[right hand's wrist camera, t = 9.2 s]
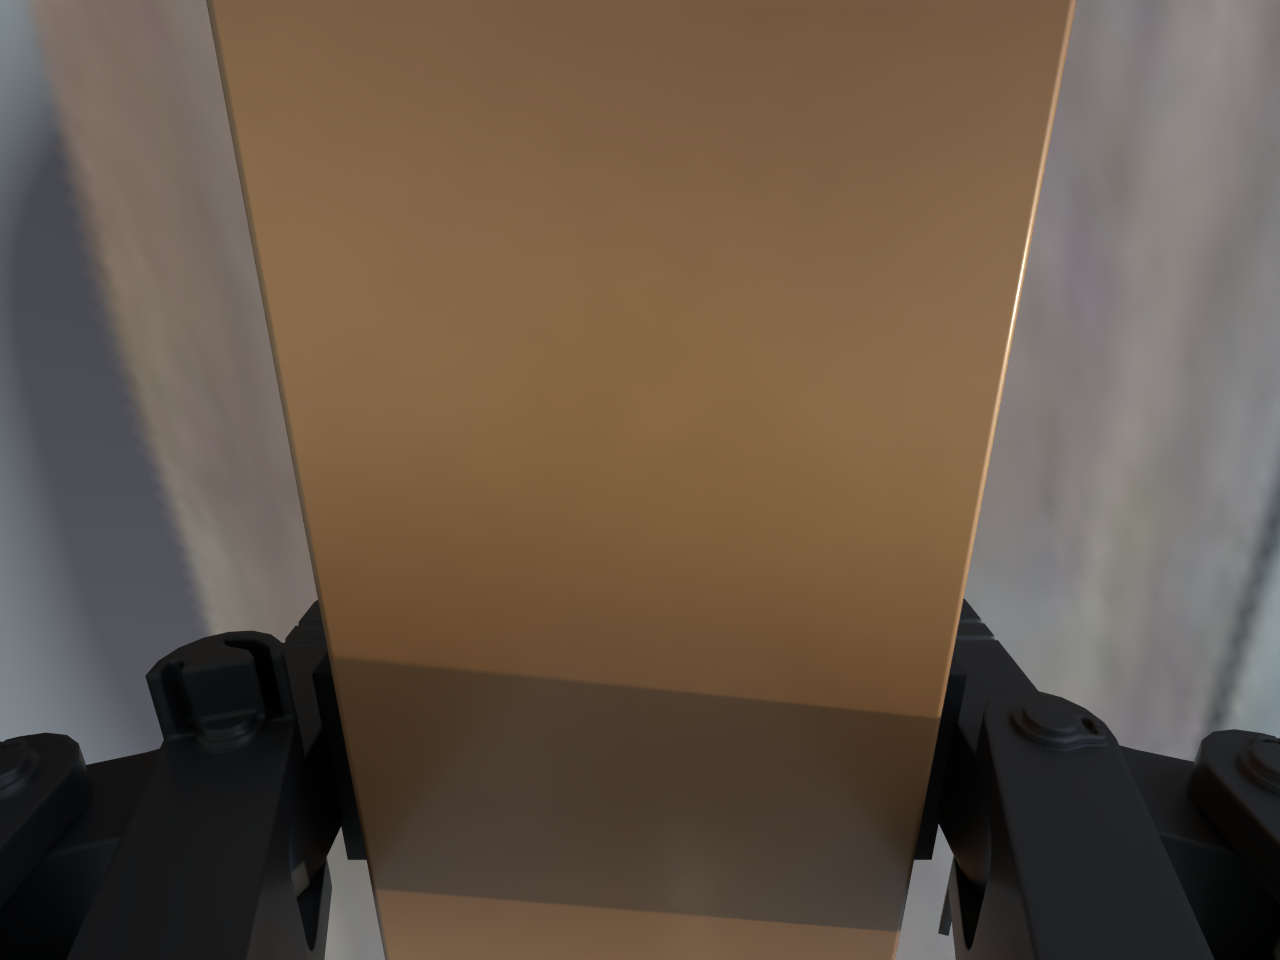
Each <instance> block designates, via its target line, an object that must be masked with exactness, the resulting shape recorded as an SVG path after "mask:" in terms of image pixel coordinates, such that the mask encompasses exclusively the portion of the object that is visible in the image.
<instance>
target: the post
mask: <svg viewBox="0 0 1280 960" xmlns="http://www.w3.org/2000/svg"><path fill="white" fill-rule="evenodd" d="M206 1H207V6H208V12H209V17H210V22H211V28H212V33H213V38H214V44H215V49H216V54H217V60H218V65H219V71H220V76H221V81H222V87H223V92H224V97H225V103H226V108H227V113H228V119H229V124H230V130H231V135H232V140H233V146H234V151H235V156H236V162H237V167H238V172H239V178H240V183H241V188H242V194H243V199H244V205H245V210H246V215H247V221H248V226H249V231H250V237H251V242H252V247H253V253H254V258H255V264H256V269H257V274H258V280H259V285H260V290H261V296H262V301H263V306H264V312H265V317H266V322H267V328H268V333H269V339H270V344H271V349H272V355H273V360H274V365H275V371H276V376H277V381H278V387H279V392H280V397H281V403H282V408H283V414H284V419H285V424H286V430H287V435H288V440H289V446H290V451H291V456H292V462H293V467H294V473H295V478H296V483H297V489H298V494H299V499H300V505H301V510H302V515H303V521H304V526H305V531H306V537H307V542H308V548H309V553H310V558H311V564H312V569H313V574H314V580H315V585H316V590H317V596H318V601H319V606H320V612H321V617H322V623H323V628H324V633H325V639H326V644H327V649H328V655H329V660H330V665H331V671H332V676H333V682H334V687H335V692H336V698H337V703H338V708H339V714H340V719H341V724H342V730H343V735H344V740H345V746H346V751H347V757H348V762H349V767H350V773H351V778H352V783H353V789H354V794H355V799H356V805H357V810H358V816H359V821H360V826H361V832H362V837H363V842H364V848H365V853H366V858H367V864H368V869H369V874H370V880H371V885H372V891H373V896H374V901H375V907H376V912H377V917H378V923H379V928H380V933H381V939H382V944H383V949H384V955H385V960H895V957H896V952H897V947H898V941H899V936H900V931H901V925H902V920H903V915H904V910H905V904H906V899H907V894H908V888H909V883H910V878H911V873H912V867H913V862H914V857H915V851H916V846H917V841H918V836H919V830H920V825H921V820H922V814H923V809H924V804H925V799H926V793H927V788H928V783H929V777H930V772H931V767H932V762H933V756H934V751H935V746H936V740H937V735H938V730H939V725H940V719H941V714H942V709H943V704H944V698H945V693H946V688H947V682H948V677H949V672H950V667H951V661H952V656H953V651H954V645H955V640H956V635H957V630H958V624H959V619H960V614H961V608H962V603H963V598H964V593H965V587H966V582H967V577H968V571H969V566H970V561H971V556H972V550H973V545H974V540H975V534H976V529H977V524H978V519H979V513H980V508H981V503H982V497H983V492H984V487H985V482H986V476H987V471H988V466H989V460H990V455H991V450H992V445H993V439H994V434H995V429H996V423H997V418H998V413H999V408H1000V402H1001V397H1002V392H1003V386H1004V381H1005V376H1006V371H1007V365H1008V360H1009V355H1010V349H1011V344H1012V339H1013V334H1014V328H1015V323H1016V318H1017V312H1018V307H1019V302H1020V297H1021V291H1022V286H1023V281H1024V275H1025V270H1026V265H1027V260H1028V254H1029V249H1030V244H1031V238H1032V233H1033V228H1034V223H1035V217H1036V212H1037V207H1038V201H1039V196H1040V191H1041V186H1042V180H1043V175H1044V170H1045V164H1046V159H1047V154H1048V149H1049V143H1050V138H1051V133H1052V127H1053V122H1054V117H1055V112H1056V106H1057V101H1058V96H1059V90H1060V85H1061V80H1062V75H1063V69H1064V64H1065V59H1066V53H1067V48H1068V43H1069V38H1070V32H1071V27H1072V22H1073V16H1074V11H1075V6H1076V1H1077V0H206Z"/></svg>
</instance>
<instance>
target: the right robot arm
mask: <svg viewBox="0 0 1280 960" xmlns="http://www.w3.org/2000/svg"><path fill="white" fill-rule="evenodd" d="M146 680H147V683H148V686H149V690H150V693H151V697H152V700H153V703H154V707H155V710H156V714H157V717H158V720H159V724H160V727H161V731H162V734H163V738H164V741H163V743H162V745H161V748H160V749H157V750H153V751H150V752H146V753H141V754H137V755H132V756H127V757H122V758H118V759H113V760H108V761H103V762H99V763H94V764H89V765H86V764H85V761H84V758H83V755H82V752H81V750H80V747H79V744H78V743H77V742H76V741H74V740H73V739H72V738H70V737H69V736H67V735H61V734H53V733H41V734H34V735H27V736H20V737H16V738H12V739H8V740H5V741H4V742H0V960H324V957H325V948H326V939H327V929H328V920H329V911H330V902H331V892H332V884H331V878H330V871H329V867H328V862H327V855H328V853H329V851H330V849H331V846H332V844H333V842H334V840H335V838H336V836H337V834H338V831H339V829H340V827H342V832H343V837H344V842H345V847H346V852H347V858H348V860H367V858H366V853H365V848H364V842H363V837H362V832H361V826H360V821H359V816H358V810H357V805H356V799H355V794H354V789H353V783H352V778H351V773H350V767H349V762H348V757H347V751H346V746H345V740H344V735H343V730H342V724H341V719H340V714H339V708H338V703H337V698H336V692H335V687H334V682H333V676H332V671H331V665H330V660H329V655H328V649H327V644H326V639H325V633H324V628H323V623H322V617H321V612H320V606H319V601H318V600H317V601H315V602H314V603H313V605H312V606H311V607H310V608H309V610H308V611H307V612H306V613H305V615H304V616H303V617H302V618H301V620H300V621H299V625H298V626H295V627H294V629H293V630H292V631H291V632H290V634H289V635H288V636H287V637H286V641H285V643H282V642H280V641H279V640H278V639H276V638H275V637H274V636H272V635H271V634H266V633H261V632H256V631H238V632H227V633H222V634H218V635H214V636H209V637H205V638H202V639H199V640H197V641H195V642H192V643H190V644H187V645H185V646H182V647H180V648H178V649H176V650H175V651H173V652H172V653H170V654H169V655H167V656H165V657H164V658H162V659H161V660H159V661H158V662H157V663H156V664H155V665H154V667H153V668H152V669H151V670H150V671H149V672H148V673H147V675H146ZM938 824H939V825H940V827H941V829H942V831H943V833H944V835H945V837H946V840H947V842H948V844H949V846H950V848H951V850H952V852H953V854H954V857H953V862H952V867H951V871H950V876H949V881H948V886H947V891H946V895H945V900H944V905H943V910H942V915H941V920H940V926H939V934H943V935H947V936H948V935H949V931H950V926H951V921H952V927H953V937H954V946H955V955H956V960H1280V738H1279V739H1278V738H1276V737H1275V736H1271V735H1267V734H1263V733H1256V732H1249V731H1242V730H1235V729H1233V730H1224V731H1216V732H1212V733H1211V734H1210V735H1208V736H1207V737H1206V738H1204V739H1203V740H1202V742H1201V744H1200V747H1199V750H1198V753H1197V756H1196V759H1195V762H1192V761H1187V760H1182V759H1178V758H1173V757H1168V756H1163V755H1159V754H1154V753H1149V752H1144V751H1139V750H1135V749H1131V748H1127V747H1124V746H1120V745H1119V744H1118V742H1117V739H1116V738H1115V736H1114V735H1113V734H1112V732H1111V731H1110V730H1109V728H1108V727H1107V726H1106V724H1105V723H1104V722H1103V721H1101V720H1100V719H1099V718H1097V717H1096V716H1095V715H1093V714H1092V713H1091V712H1089V711H1088V710H1087V709H1085V708H1083V707H1081V706H1079V705H1077V704H1075V703H1073V702H1070V701H1068V700H1066V699H1064V698H1062V697H1058V696H1055V695H1051V694H1047V693H1043V692H1039V691H1038V690H1037V689H1036V688H1035V686H1034V685H1033V684H1032V683H1031V681H1030V680H1029V679H1028V678H1027V676H1026V675H1025V674H1024V673H1023V671H1022V670H1021V669H1020V668H1019V666H1018V665H1017V664H1016V662H1015V661H1014V660H1013V659H1012V657H1011V656H1010V655H1009V654H1008V652H1007V651H1006V650H1005V649H1004V647H1003V646H1002V645H1001V644H1000V642H999V641H998V640H995V639H994V635H993V634H992V632H991V631H990V630H989V629H988V627H987V626H986V625H985V624H984V623H981V619H980V617H979V616H978V615H977V614H976V612H975V611H974V610H973V609H972V607H971V606H970V605H969V604H968V602H967V601H966V600H965V599H964V598H963V603H962V608H961V614H960V619H959V624H958V630H957V635H956V640H955V645H954V651H953V656H952V661H951V667H950V672H949V677H948V682H947V688H946V693H945V698H944V704H943V709H942V714H941V719H940V725H939V730H938V735H937V740H936V746H935V751H934V756H933V762H932V767H931V772H930V777H929V783H928V788H927V793H926V799H925V804H924V809H923V814H922V820H921V825H920V830H919V836H918V841H917V846H916V851H915V857H914V860H932V855H933V849H934V844H935V839H936V834H937V829H938Z"/></svg>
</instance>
